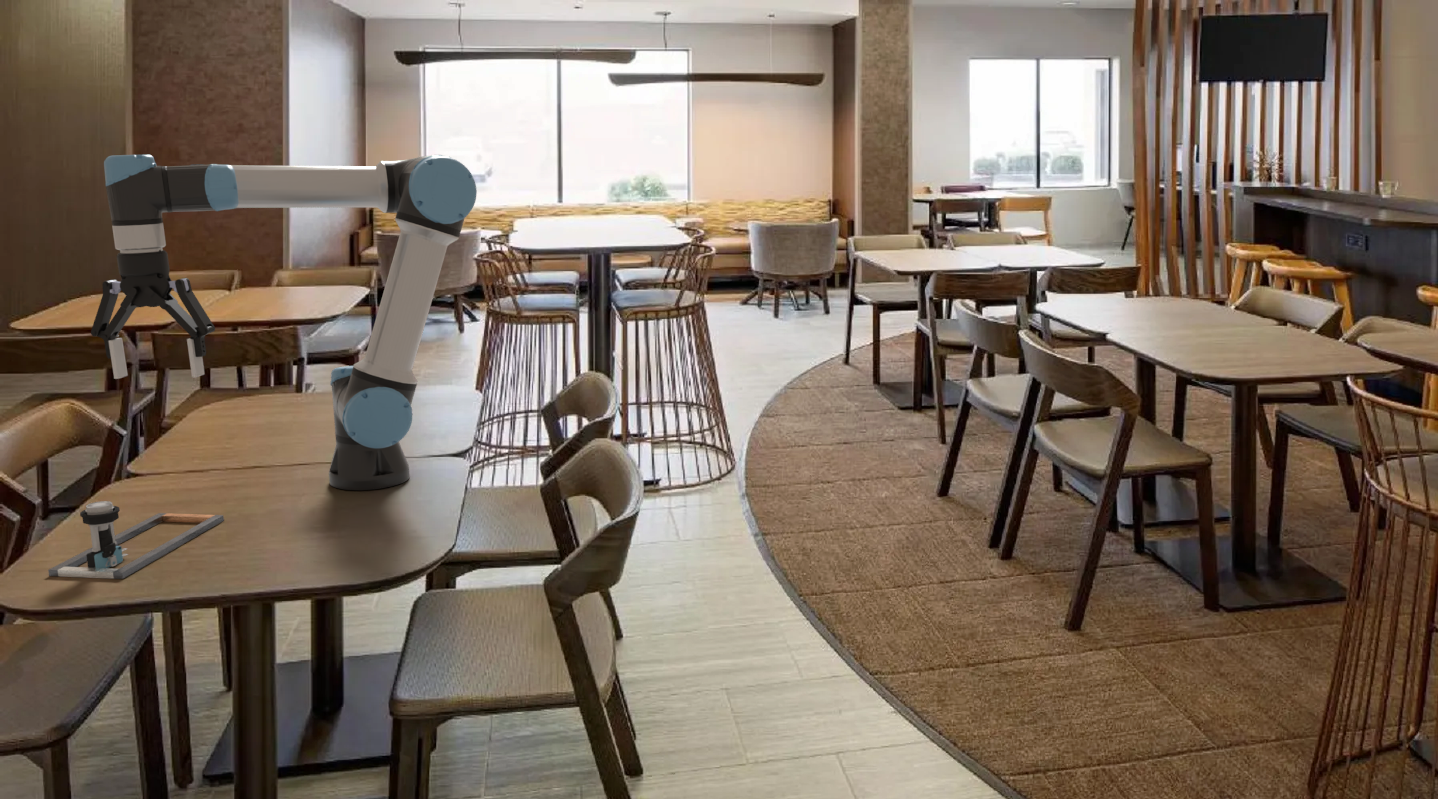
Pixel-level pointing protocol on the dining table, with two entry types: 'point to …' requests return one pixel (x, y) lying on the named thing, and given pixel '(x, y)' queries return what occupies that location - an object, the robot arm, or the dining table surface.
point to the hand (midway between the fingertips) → (159, 376)
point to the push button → (102, 534)
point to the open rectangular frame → (206, 522)
